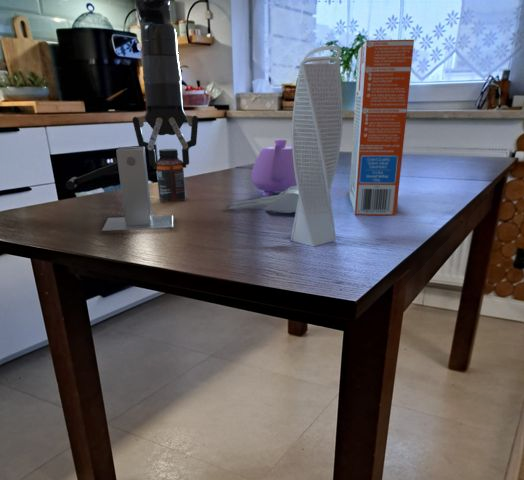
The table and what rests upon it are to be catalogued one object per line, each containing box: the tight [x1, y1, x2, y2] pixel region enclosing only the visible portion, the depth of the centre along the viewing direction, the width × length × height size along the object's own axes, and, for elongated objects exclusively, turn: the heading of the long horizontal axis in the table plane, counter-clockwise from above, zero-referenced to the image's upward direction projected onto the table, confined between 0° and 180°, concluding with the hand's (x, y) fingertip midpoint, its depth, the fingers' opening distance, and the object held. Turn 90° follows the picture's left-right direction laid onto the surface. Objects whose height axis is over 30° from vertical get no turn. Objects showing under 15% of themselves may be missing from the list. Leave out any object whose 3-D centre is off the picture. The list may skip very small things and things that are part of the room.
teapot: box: [250, 139, 297, 197], centre depth 124 cm, size 20×14×12 cm
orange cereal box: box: [348, 39, 415, 217], centre depth 106 cm, size 23×8×30 cm, turn 174°
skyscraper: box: [290, 45, 344, 247], centre depth 79 cm, size 8×8×28 cm
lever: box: [65, 161, 119, 191], centre depth 89 cm, size 13×5×2 cm, turn 99°
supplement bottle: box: [155, 148, 187, 203], centre depth 114 cm, size 6×6×11 cm
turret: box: [228, 186, 299, 214], centre depth 106 cm, size 10×20×5 cm, turn 82°
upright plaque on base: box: [101, 146, 174, 232], centre depth 91 cm, size 12×10×14 cm
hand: (169, 167), depth 113 cm, fingers closed on supplement bottle, 6 cm apart
